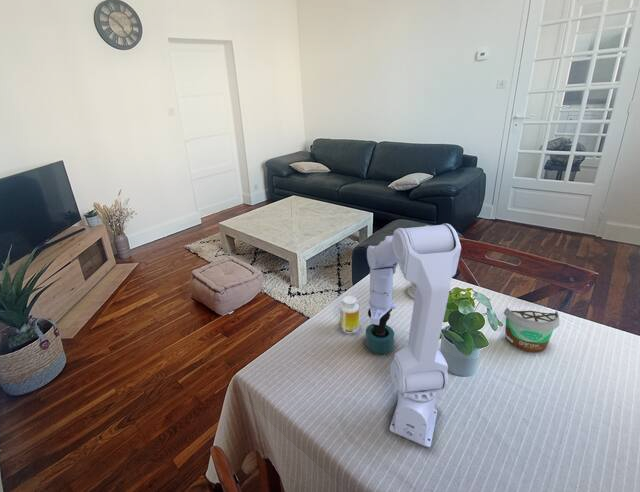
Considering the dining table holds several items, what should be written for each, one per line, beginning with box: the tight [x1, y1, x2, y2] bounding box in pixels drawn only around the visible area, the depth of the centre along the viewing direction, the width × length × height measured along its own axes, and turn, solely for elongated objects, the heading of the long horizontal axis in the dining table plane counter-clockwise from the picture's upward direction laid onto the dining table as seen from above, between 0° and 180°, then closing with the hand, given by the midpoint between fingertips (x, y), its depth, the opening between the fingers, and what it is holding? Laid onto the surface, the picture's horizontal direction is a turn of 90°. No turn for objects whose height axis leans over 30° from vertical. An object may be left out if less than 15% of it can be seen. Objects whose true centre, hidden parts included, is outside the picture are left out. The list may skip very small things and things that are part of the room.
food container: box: [503, 307, 561, 354], centre depth 87 cm, size 12×6×10 cm, turn 76°
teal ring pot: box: [365, 323, 395, 355], centre depth 93 cm, size 7×7×4 cm
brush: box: [375, 331, 385, 338], centre depth 92 cm, size 3×3×8 cm
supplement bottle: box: [339, 295, 360, 334], centre depth 100 cm, size 6×6×10 cm
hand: (379, 330), depth 92 cm, fingers closed on brush
